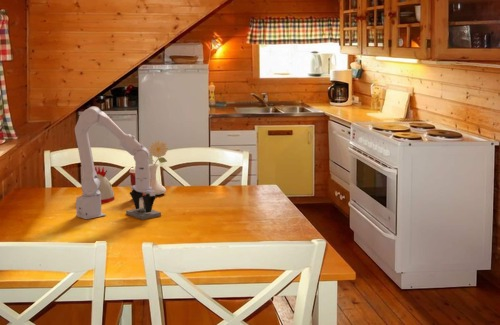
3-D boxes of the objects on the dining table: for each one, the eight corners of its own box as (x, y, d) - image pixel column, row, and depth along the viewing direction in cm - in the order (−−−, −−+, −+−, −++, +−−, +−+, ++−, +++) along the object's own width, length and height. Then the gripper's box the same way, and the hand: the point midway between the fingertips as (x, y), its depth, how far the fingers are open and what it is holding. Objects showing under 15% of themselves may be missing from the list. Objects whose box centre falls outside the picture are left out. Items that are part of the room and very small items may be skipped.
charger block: (142, 219, 275) (142, 214, 275) (126, 214, 284) (125, 208, 284) (161, 216, 281) (160, 210, 281) (144, 210, 290) (144, 205, 290)
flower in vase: (137, 196, 316) (135, 141, 312) (147, 190, 327) (146, 138, 322) (163, 198, 313) (162, 143, 308) (173, 192, 323) (172, 139, 319)
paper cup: (138, 202, 305) (137, 170, 302) (126, 199, 310) (125, 168, 307) (151, 198, 311) (150, 168, 309) (139, 196, 316) (138, 166, 313)
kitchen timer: (110, 203, 302) (109, 170, 299) (79, 203, 302) (77, 169, 300) (117, 196, 316) (116, 164, 313) (87, 196, 316) (85, 163, 313)
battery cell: (142, 216, 281) (142, 198, 279) (137, 215, 283) (137, 197, 281) (148, 215, 283) (148, 197, 281) (144, 213, 285) (143, 195, 284)
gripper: (161, 179, 277) (161, 212, 280) (140, 173, 288) (141, 205, 290) (146, 181, 273) (147, 214, 275) (126, 175, 283) (127, 208, 286)
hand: (143, 210), depth 282 cm, fingers open, 7 cm apart
